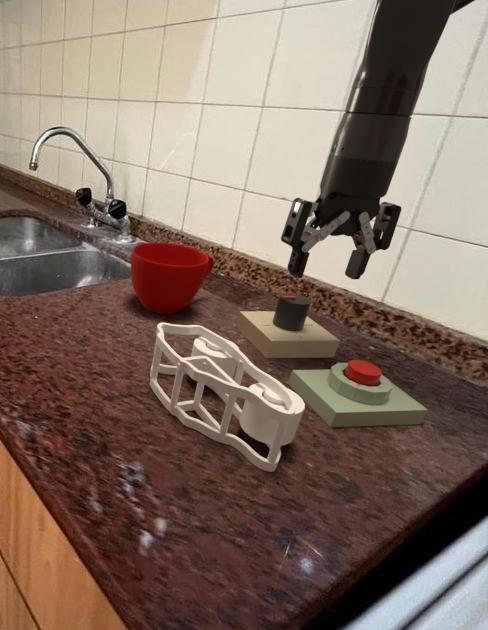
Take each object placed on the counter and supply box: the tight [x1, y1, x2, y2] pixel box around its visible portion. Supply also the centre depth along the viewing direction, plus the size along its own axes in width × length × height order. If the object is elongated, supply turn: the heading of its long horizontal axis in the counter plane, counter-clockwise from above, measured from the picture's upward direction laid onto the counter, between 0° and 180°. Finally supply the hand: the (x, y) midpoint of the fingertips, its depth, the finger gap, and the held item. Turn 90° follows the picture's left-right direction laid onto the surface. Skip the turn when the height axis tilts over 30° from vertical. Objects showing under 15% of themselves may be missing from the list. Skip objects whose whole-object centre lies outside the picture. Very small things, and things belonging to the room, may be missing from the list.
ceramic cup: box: [130, 242, 215, 315], centre depth 80 cm, size 13×17×10 cm
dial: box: [273, 292, 312, 331], centre depth 69 cm, size 4×4×5 cm
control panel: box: [235, 310, 341, 359], centre depth 71 cm, size 11×10×3 cm
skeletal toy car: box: [149, 321, 306, 473], centre depth 52 cm, size 20×11×7 cm, turn 17°
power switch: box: [287, 362, 428, 428], centre depth 57 cm, size 12×9×4 cm
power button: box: [344, 359, 383, 387], centre depth 56 cm, size 4×4×2 cm
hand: (323, 276), depth 63 cm, fingers open, 8 cm apart
